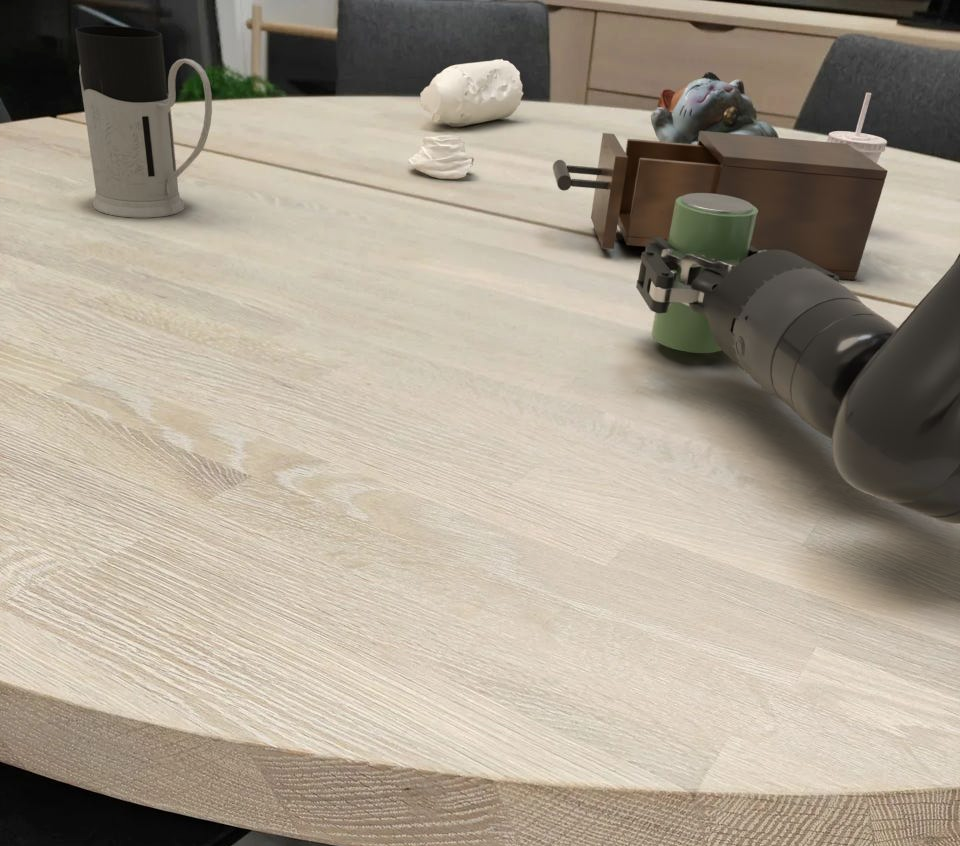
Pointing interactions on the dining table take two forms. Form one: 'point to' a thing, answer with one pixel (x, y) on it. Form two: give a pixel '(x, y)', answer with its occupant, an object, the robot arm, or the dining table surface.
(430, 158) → the whipped cream
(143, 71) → the glass holder
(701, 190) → the drawer
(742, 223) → the can
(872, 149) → the smoothie
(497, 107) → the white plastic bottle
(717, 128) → the lucky cat figurine
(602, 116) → the dining table surface
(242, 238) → the dining table surface
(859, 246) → the cabinet
